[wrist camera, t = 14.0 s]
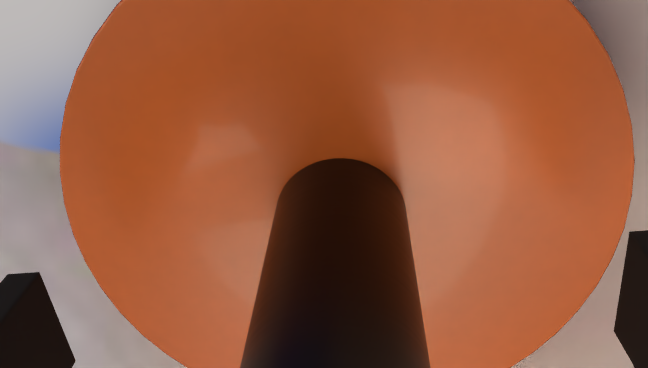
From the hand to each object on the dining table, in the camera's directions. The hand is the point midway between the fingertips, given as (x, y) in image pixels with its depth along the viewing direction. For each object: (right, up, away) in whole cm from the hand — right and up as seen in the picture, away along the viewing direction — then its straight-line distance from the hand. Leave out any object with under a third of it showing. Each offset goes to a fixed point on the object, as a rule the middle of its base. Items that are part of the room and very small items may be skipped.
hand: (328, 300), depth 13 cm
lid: (0, +2, +3) cm, 4 cm away
